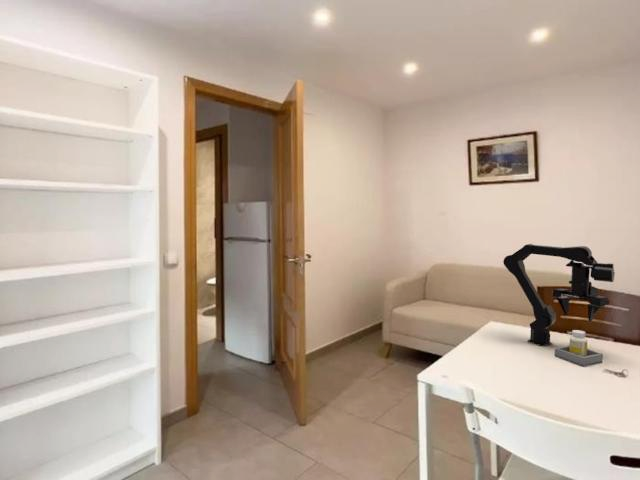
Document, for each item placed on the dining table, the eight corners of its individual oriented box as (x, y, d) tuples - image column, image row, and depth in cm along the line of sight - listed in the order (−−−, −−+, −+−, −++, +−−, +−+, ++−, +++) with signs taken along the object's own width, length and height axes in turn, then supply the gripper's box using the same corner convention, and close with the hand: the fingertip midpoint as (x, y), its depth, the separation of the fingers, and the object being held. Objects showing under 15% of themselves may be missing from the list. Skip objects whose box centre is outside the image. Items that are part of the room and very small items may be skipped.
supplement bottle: (580, 354, 144) (582, 329, 144) (589, 360, 139) (591, 334, 138) (565, 354, 145) (567, 329, 144) (574, 360, 139) (575, 333, 139)
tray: (554, 356, 145) (554, 348, 144) (573, 352, 149) (573, 344, 148) (583, 366, 135) (583, 358, 135) (602, 362, 139) (602, 353, 139)
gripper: (619, 281, 143) (617, 322, 144) (570, 274, 160) (568, 310, 161) (600, 283, 139) (598, 325, 140) (552, 275, 156) (550, 313, 157)
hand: (578, 318), depth 149 cm, fingers open, 9 cm apart
